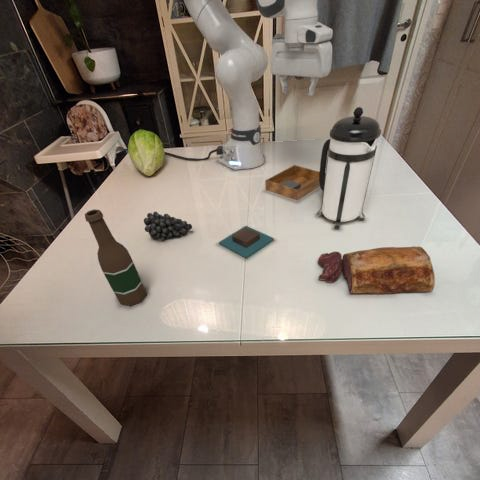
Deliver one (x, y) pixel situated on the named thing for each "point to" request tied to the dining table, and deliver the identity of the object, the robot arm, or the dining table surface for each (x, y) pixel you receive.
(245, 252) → the mat
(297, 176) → the wooden tray
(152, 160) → the lettuce
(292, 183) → the slate coaster
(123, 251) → the beer bottle
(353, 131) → the coffee press
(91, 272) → the dining table surface
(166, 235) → the fruit
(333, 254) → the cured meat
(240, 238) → the walnut coaster
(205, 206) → the dining table surface
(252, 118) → the robot arm
